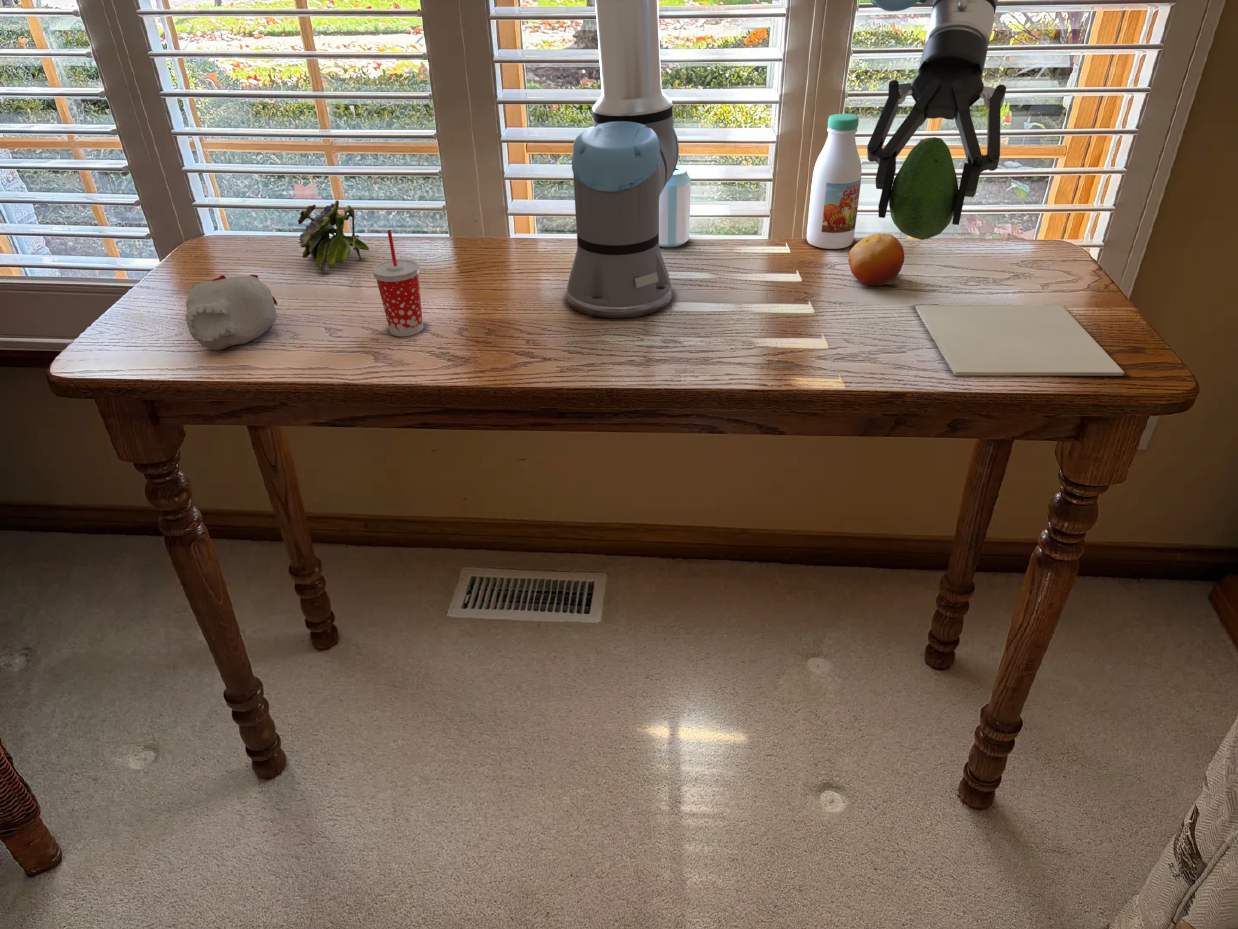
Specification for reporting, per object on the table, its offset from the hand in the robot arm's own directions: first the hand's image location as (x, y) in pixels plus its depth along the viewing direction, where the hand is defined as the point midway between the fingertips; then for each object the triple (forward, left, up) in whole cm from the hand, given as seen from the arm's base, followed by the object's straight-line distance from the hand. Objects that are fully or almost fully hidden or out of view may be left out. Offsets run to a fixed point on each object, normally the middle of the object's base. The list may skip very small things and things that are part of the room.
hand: (918, 215), depth 103 cm
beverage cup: (-27, -61, -17) cm, 68 cm away
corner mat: (+4, +14, -17) cm, 23 cm away
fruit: (-20, +8, -17) cm, 27 cm away
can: (-47, -15, -17) cm, 52 cm away
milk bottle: (-37, +10, -17) cm, 42 cm away
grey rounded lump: (-33, -83, -17) cm, 90 cm away
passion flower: (-58, -69, -17) cm, 91 cm away
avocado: (-3, +2, -4) cm, 5 cm away
